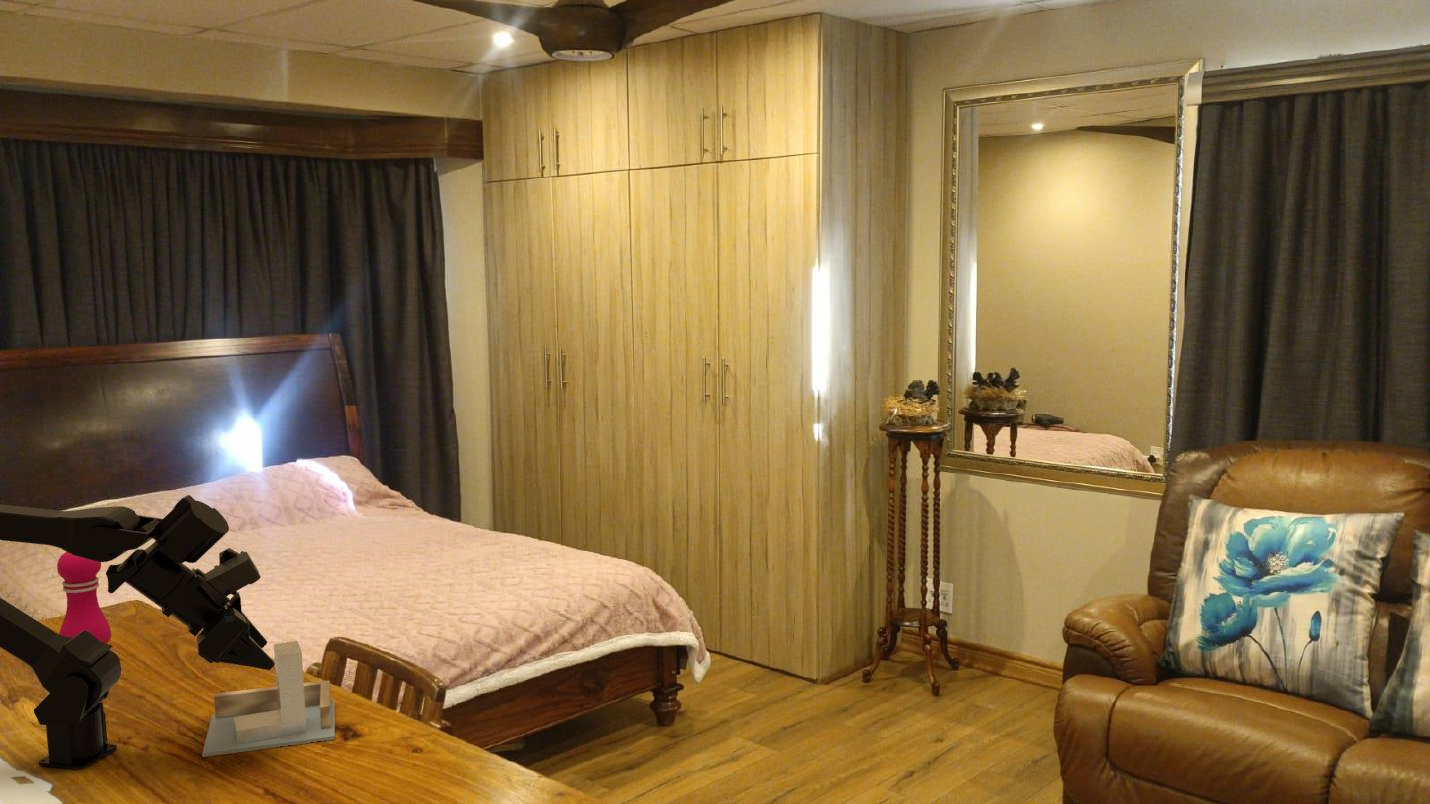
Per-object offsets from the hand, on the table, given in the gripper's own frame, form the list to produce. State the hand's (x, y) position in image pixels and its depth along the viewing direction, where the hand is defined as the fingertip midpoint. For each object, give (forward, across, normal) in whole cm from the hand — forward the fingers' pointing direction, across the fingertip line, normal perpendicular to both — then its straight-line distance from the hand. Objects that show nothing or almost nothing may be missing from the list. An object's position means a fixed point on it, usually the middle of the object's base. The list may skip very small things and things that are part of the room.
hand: (268, 655), depth 153 cm
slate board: (+8, +2, +8) cm, 11 cm away
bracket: (+7, 0, +7) cm, 10 cm away
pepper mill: (-8, +42, +24) cm, 49 cm away
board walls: (+8, +3, +7) cm, 11 cm away
